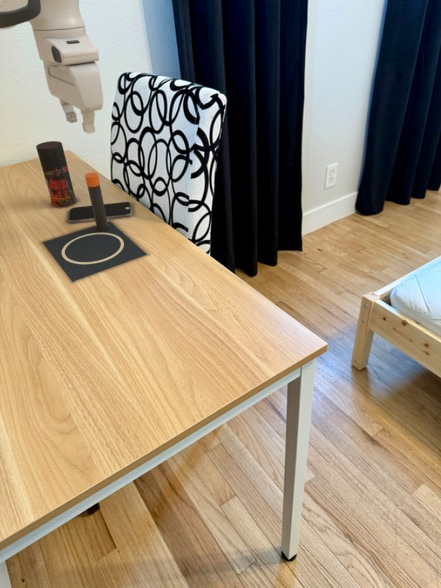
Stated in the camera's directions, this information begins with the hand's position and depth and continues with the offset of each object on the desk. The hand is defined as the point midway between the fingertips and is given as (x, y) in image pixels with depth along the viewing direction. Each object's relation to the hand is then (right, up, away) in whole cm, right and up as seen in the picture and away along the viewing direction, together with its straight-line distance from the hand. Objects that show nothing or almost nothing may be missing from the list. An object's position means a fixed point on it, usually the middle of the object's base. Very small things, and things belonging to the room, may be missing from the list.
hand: (80, 126), depth 85 cm
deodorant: (-13, -10, +27) cm, 31 cm away
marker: (+1, -18, +14) cm, 23 cm away
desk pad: (0, -23, +7) cm, 25 cm away
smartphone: (-2, -13, +21) cm, 25 cm away
